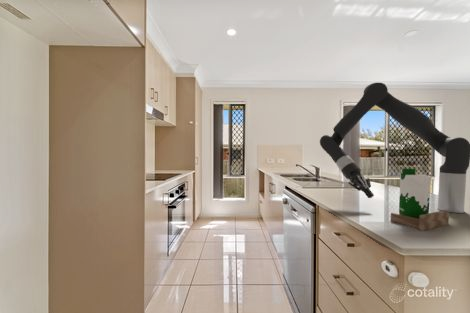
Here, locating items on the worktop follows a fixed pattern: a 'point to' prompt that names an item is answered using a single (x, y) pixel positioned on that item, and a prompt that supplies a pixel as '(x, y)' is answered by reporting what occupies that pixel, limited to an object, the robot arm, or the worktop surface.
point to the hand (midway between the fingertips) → (371, 196)
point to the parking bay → (423, 220)
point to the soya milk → (414, 193)
